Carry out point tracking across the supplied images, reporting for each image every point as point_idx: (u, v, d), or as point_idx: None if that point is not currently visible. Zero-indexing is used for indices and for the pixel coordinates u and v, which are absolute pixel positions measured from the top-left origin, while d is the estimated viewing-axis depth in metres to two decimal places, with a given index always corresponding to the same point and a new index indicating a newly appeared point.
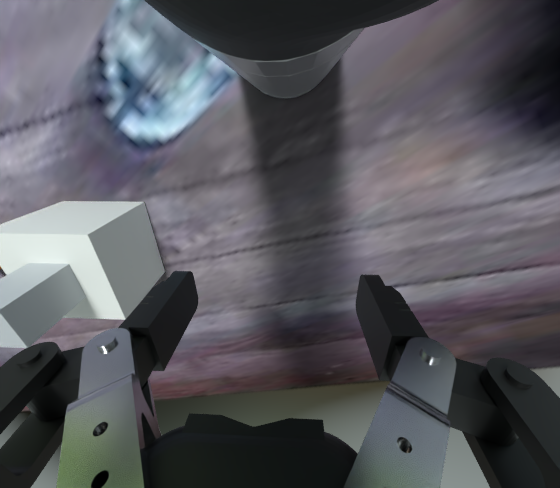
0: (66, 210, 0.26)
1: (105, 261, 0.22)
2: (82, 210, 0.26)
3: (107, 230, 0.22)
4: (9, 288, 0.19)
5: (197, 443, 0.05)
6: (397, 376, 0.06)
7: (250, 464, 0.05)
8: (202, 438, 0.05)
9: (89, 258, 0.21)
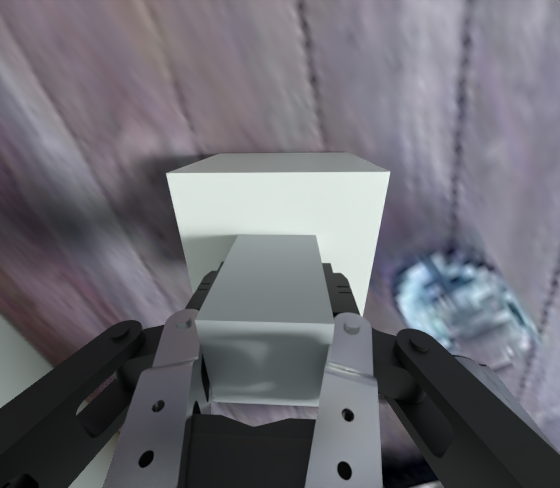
0: None
1: None
2: None
3: None
4: None
5: (197, 443, 0.05)
6: (330, 354, 0.07)
7: (250, 464, 0.05)
8: (202, 438, 0.05)
9: None
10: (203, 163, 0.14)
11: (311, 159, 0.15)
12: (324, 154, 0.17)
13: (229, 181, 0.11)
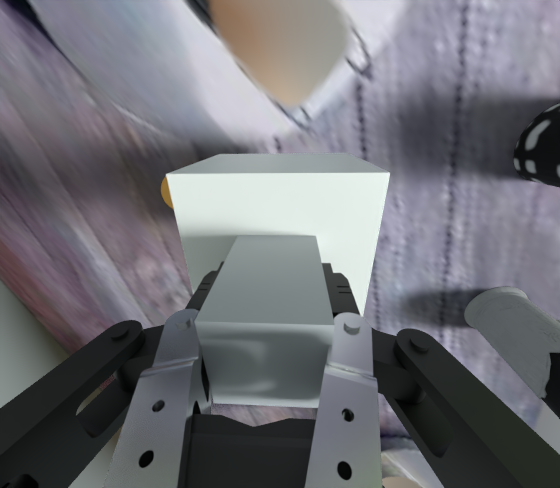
0: None
1: None
2: None
3: None
4: None
5: (197, 443, 0.05)
6: (330, 354, 0.07)
7: (250, 464, 0.05)
8: (202, 438, 0.05)
9: None
10: (203, 164, 0.14)
11: (311, 160, 0.15)
12: (324, 155, 0.17)
13: (229, 182, 0.11)
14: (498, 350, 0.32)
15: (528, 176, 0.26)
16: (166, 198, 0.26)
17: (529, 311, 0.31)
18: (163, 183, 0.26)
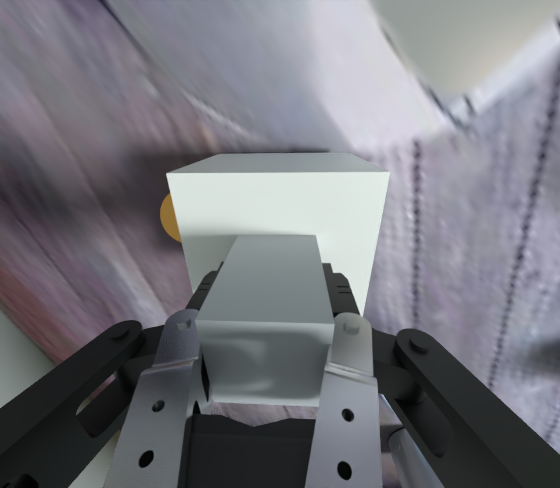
0: None
1: None
2: None
3: None
4: None
5: (197, 443, 0.05)
6: (331, 354, 0.07)
7: (250, 464, 0.05)
8: (202, 438, 0.05)
9: None
10: (203, 163, 0.14)
11: (311, 159, 0.15)
12: (324, 154, 0.17)
13: (229, 181, 0.11)
14: None
15: None
16: None
17: None
18: None
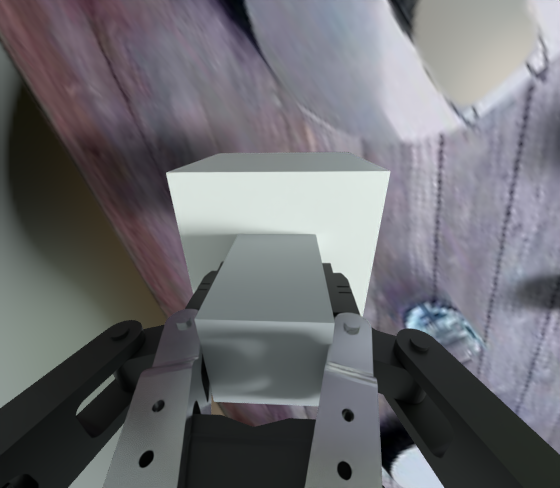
0: None
1: None
2: None
3: None
4: None
5: (197, 443, 0.05)
6: (330, 354, 0.07)
7: (250, 464, 0.05)
8: (202, 438, 0.05)
9: None
10: (203, 163, 0.14)
11: (311, 159, 0.15)
12: (324, 154, 0.17)
13: (229, 180, 0.11)
14: None
15: None
16: None
17: None
18: None
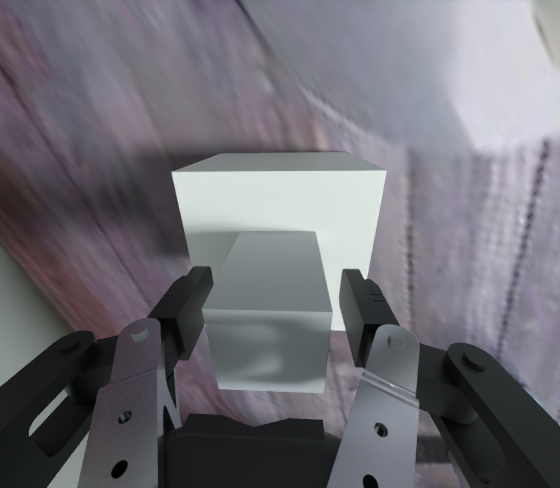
0: None
1: None
2: None
3: None
4: None
5: (197, 443, 0.05)
6: (369, 365, 0.06)
7: (250, 464, 0.05)
8: (202, 438, 0.05)
9: None
10: (206, 162, 0.14)
11: (311, 158, 0.15)
12: (324, 154, 0.17)
13: (232, 179, 0.11)
14: None
15: None
16: None
17: None
18: None
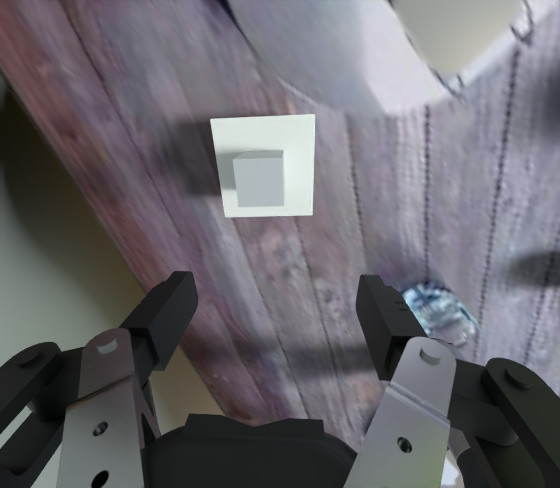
0: None
1: None
2: None
3: None
4: None
5: (197, 443, 0.05)
6: (397, 376, 0.06)
7: (250, 464, 0.05)
8: (202, 438, 0.05)
9: (291, 208, 0.27)
10: None
11: None
12: None
13: (240, 122, 0.23)
14: None
15: None
16: None
17: None
18: None
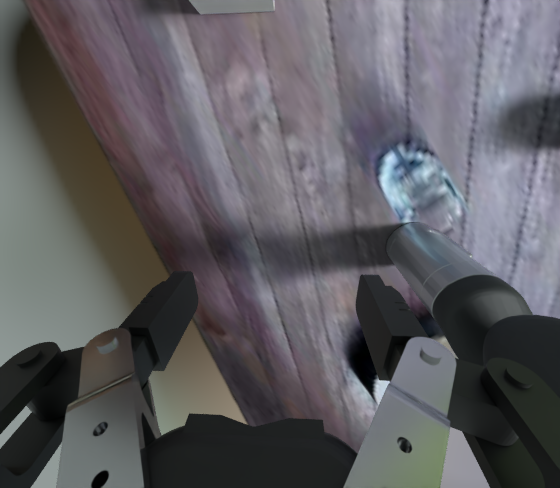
0: None
1: None
2: None
3: None
4: None
5: (197, 443, 0.05)
6: (397, 376, 0.06)
7: (250, 464, 0.05)
8: (202, 438, 0.05)
9: None
10: None
11: None
12: None
13: None
14: None
15: None
16: None
17: None
18: None
